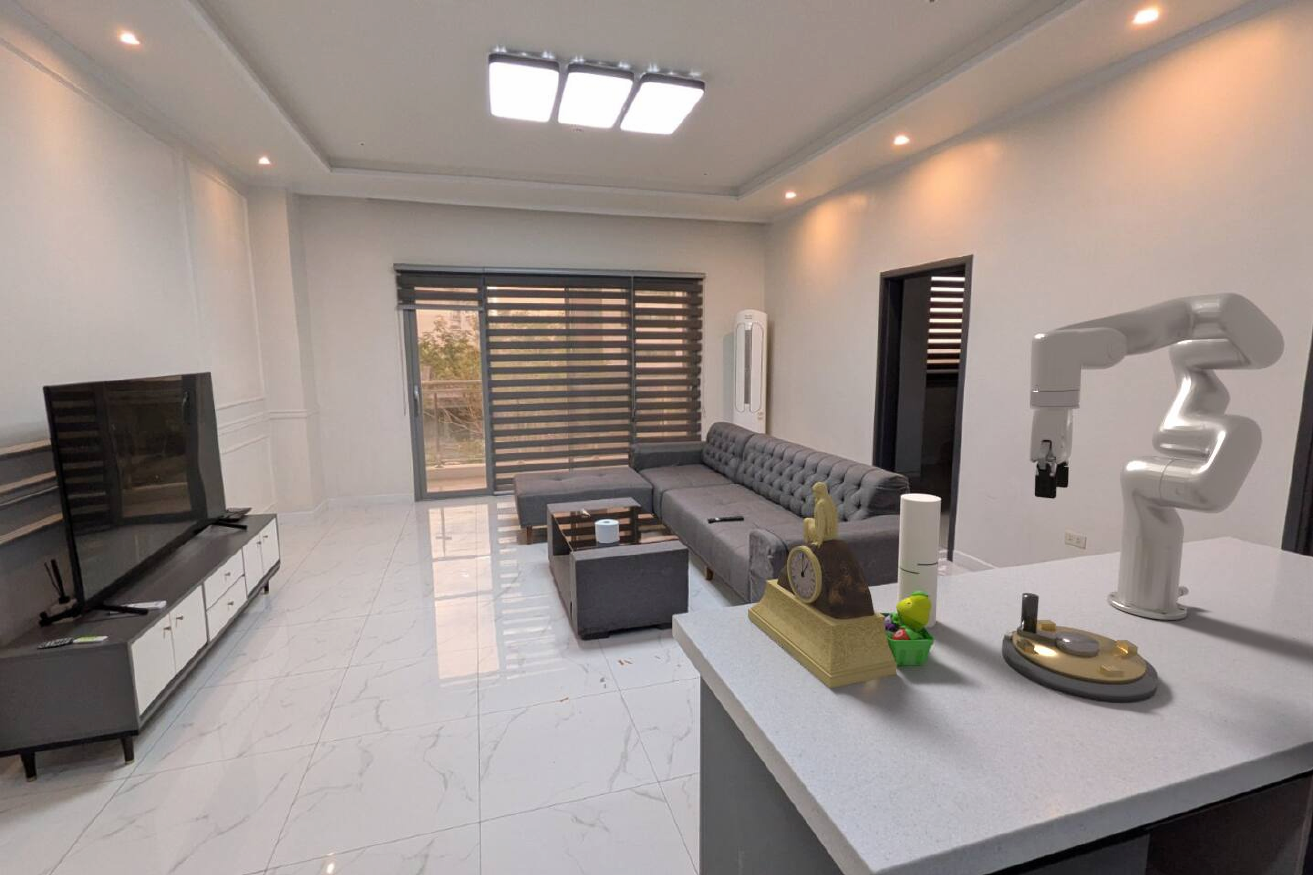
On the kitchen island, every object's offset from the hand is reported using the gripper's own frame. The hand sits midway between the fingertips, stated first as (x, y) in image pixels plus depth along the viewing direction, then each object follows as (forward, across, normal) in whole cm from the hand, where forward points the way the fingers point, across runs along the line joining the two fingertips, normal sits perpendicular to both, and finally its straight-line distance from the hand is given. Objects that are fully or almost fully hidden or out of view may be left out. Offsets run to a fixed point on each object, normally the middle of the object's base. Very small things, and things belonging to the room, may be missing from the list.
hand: (1051, 491), depth 108 cm
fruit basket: (+26, +28, -16) cm, 41 cm away
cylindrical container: (+26, +13, -20) cm, 35 cm away
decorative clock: (+25, +35, -29) cm, 52 cm away
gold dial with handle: (+24, +13, +7) cm, 29 cm away
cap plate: (+26, +14, +7) cm, 30 cm away
